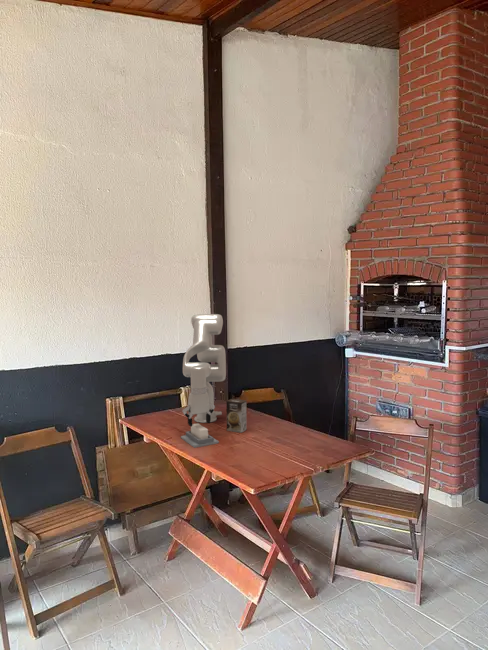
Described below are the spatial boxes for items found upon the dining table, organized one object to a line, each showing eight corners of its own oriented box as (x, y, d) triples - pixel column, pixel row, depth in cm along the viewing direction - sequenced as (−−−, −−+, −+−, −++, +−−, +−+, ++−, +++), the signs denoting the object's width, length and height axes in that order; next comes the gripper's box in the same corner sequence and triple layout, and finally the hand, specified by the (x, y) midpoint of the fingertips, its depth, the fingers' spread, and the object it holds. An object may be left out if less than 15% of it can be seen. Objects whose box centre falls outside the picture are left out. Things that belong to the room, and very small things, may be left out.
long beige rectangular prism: (198, 434, 269) (198, 423, 269) (208, 441, 259) (207, 429, 258) (191, 435, 268) (190, 424, 267) (200, 442, 257) (200, 430, 256)
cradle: (204, 433, 274) (204, 428, 273) (218, 443, 259) (218, 437, 259) (180, 438, 267) (180, 432, 267) (194, 447, 253) (194, 441, 252)
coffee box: (226, 430, 279) (225, 400, 277) (232, 427, 285) (231, 398, 283) (241, 433, 275) (241, 402, 273) (247, 429, 280) (246, 399, 279)
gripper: (211, 386, 268) (211, 419, 270) (179, 391, 260) (180, 424, 262) (217, 390, 262) (218, 423, 264) (185, 394, 253) (186, 429, 256)
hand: (199, 424), depth 263 cm, fingers open, 9 cm apart
